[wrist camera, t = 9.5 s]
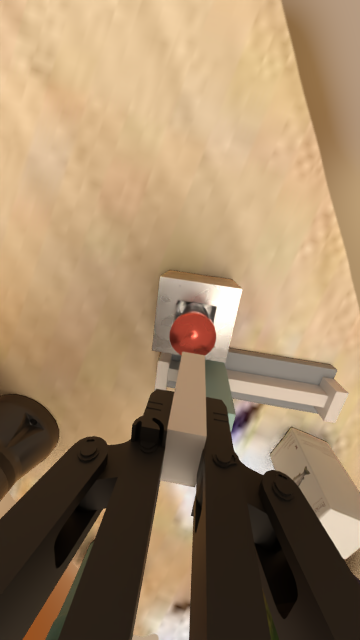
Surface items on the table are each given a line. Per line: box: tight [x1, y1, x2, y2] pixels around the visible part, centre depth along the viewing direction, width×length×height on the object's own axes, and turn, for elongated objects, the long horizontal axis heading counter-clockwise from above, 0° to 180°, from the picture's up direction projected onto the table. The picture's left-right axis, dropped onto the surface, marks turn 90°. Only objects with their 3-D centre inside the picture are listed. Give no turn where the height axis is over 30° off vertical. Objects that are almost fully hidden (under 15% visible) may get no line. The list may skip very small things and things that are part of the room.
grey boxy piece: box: [152, 270, 242, 363], centre depth 29 cm, size 9×9×8 cm
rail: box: [155, 348, 349, 423], centre depth 33 cm, size 26×8×5 cm, turn 82°
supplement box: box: [270, 427, 360, 559], centre depth 33 cm, size 7×7×13 cm
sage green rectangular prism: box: [205, 359, 236, 431], centre depth 28 cm, size 6×6×12 cm
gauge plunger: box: [169, 303, 216, 355], centre depth 24 cm, size 4×4×7 cm
